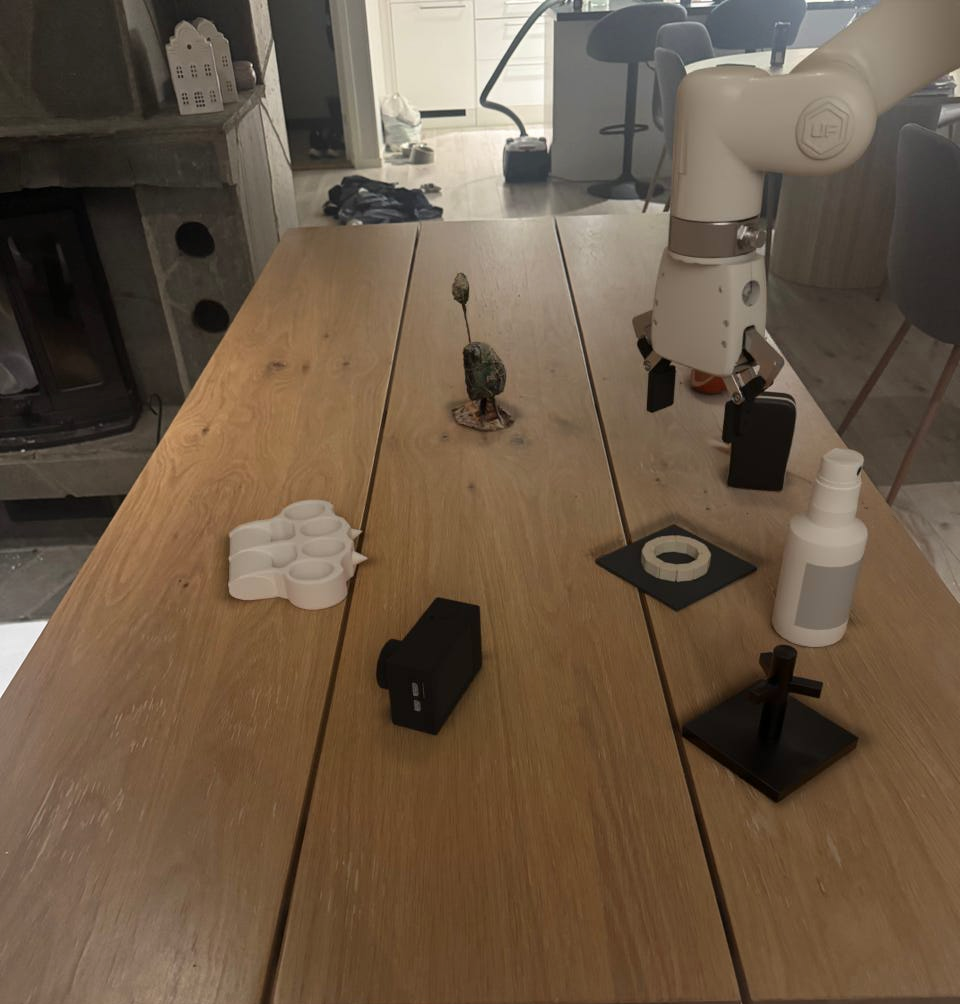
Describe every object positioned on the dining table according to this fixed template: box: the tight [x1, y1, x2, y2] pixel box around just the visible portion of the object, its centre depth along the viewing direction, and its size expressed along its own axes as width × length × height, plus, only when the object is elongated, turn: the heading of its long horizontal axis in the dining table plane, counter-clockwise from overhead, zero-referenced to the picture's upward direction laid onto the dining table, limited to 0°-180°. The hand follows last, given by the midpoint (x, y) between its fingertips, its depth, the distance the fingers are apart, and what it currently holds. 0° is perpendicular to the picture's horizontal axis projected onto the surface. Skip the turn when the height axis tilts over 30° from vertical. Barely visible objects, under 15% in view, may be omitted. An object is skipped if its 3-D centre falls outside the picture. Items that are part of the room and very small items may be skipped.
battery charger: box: [726, 390, 798, 492], centre depth 113 cm, size 7×4×11 cm, turn 75°
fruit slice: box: [689, 368, 740, 395], centre depth 138 cm, size 8×7×5 cm
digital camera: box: [375, 596, 483, 736], centre depth 84 cm, size 10×5×7 cm, turn 157°
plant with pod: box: [451, 272, 515, 432], centre depth 127 cm, size 8×11×20 cm
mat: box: [594, 523, 758, 612], centre depth 102 cm, size 12×12×1 cm
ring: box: [641, 535, 711, 582], centre depth 101 cm, size 7×7×1 cm
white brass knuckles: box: [227, 499, 369, 611], centre depth 104 cm, size 3×18×15 cm
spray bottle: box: [771, 447, 869, 648], centre depth 87 cm, size 7×7×18 cm
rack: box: [681, 644, 860, 804], centre depth 77 cm, size 10×10×10 cm
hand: (696, 423), depth 92 cm, fingers open, 9 cm apart
